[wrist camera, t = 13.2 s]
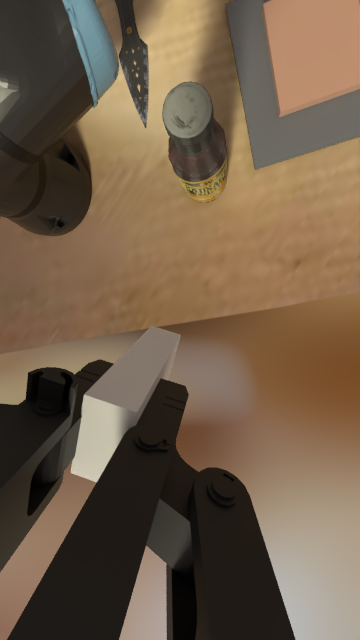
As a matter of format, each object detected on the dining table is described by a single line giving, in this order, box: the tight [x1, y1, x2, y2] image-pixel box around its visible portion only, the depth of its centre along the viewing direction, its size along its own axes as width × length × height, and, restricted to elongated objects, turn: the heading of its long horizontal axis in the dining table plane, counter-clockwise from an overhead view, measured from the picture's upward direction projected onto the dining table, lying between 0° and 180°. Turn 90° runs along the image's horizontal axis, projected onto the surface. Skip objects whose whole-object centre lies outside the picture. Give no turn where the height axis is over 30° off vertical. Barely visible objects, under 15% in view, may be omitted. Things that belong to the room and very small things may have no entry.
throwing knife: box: [115, 0, 148, 128], centre depth 39 cm, size 4×20×1 cm, turn 10°
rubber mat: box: [226, 0, 360, 170], centre depth 35 cm, size 20×18×1 cm
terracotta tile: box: [262, 0, 360, 117], centre depth 34 cm, size 2×10×12 cm
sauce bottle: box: [162, 82, 227, 203], centre depth 31 cm, size 6×6×20 cm
